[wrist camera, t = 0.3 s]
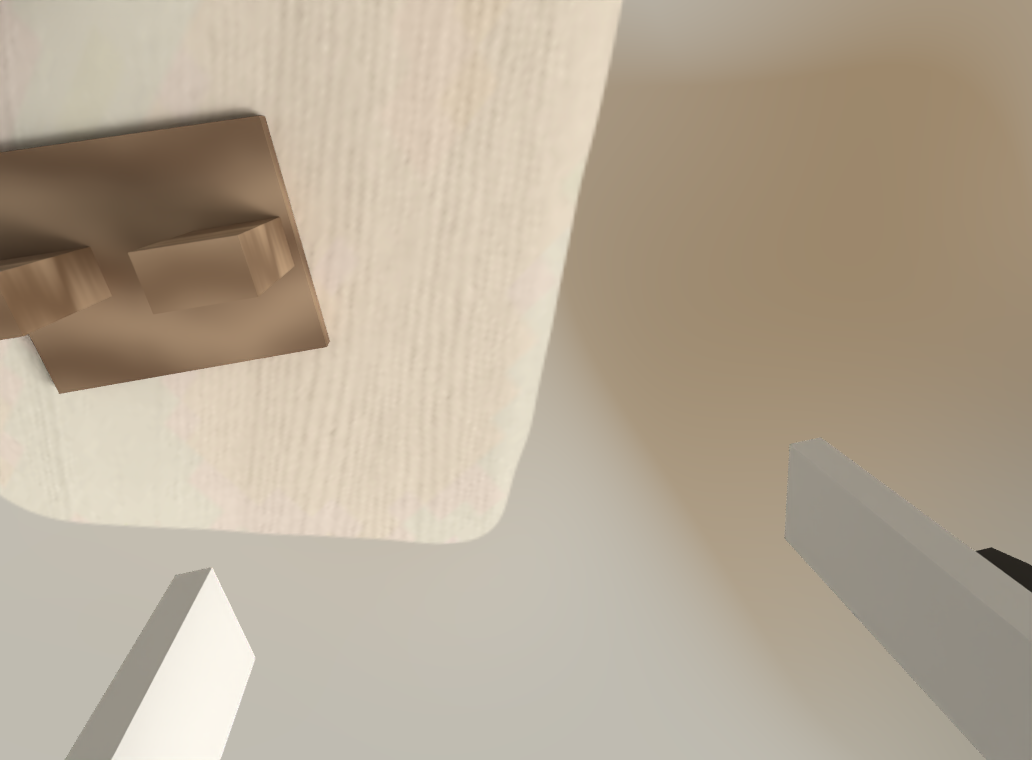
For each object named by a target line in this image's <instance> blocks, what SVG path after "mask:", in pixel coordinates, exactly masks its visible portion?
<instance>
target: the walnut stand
mask: <svg viewBox="0 0 1032 760" xmlns="http://www.w3.org/2000/svg"><path fill="white" fill-rule="evenodd" d="M27 334H29V336H30V338H31V339H32V341H33V343H34V345H35V347H36V349H37V351H38V353H39V355H40V357H41V359H42V361H43V363H44V365H45V367H46V369H47V371H48V372H49V374H50V376H51V378H52V380H53V382H54V384H55V386H56V388H57V390H58V392H59V394H61V393H67V392H72V391H78V390H84V389H89V388H95V387H101V386H107V385H112V384H118V383H124V382H129V381H135V380H141V379H146V378H152V377H158V376H164V375H169V374H175V373H181V372H186V371H192V370H198V369H203V368H209V367H215V366H221V365H226V364H232V363H238V362H243V361H249V360H255V359H261V358H266V357H272V356H278V355H283V354H289V353H295V352H300V351H306V350H312V349H318V348H323V347H327V345H328V344H329V342H330V340H329V337H328V334H327V330H326V327H325V323H324V320H323V316H322V313H321V309H320V306H319V302H318V299H317V295H316V292H315V288H314V285H313V281H312V278H311V275H310V271H309V268H308V264H307V261H306V257H305V254H304V250H303V247H302V243H301V240H300V236H299V233H298V229H297V226H296V223H295V219H294V216H293V212H292V209H291V205H290V202H289V198H288V195H287V191H286V188H285V184H284V181H283V177H282V174H281V171H280V167H279V164H278V160H277V157H276V153H275V150H274V146H273V143H272V139H271V136H270V132H269V129H268V125H267V122H266V118H265V117H264V116H252V117H245V118H238V119H231V120H224V121H217V122H210V123H203V124H196V125H189V126H182V127H175V128H168V129H161V130H154V131H147V132H140V133H133V134H126V135H119V136H112V137H105V138H98V139H91V140H84V141H77V142H70V143H63V144H56V145H49V146H42V147H35V148H28V149H21V150H13V151H6V152H0V340H3V339H9V338H15V337H21V336H25V335H27Z"/></svg>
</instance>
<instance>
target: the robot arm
mask: <svg viewBox="0 0 1032 760" xmlns="http://www.w3.org/2000/svg"><path fill="white" fill-rule="evenodd" d="M785 539H786V541H787V542H788V543H789V544H790V545H791V546H792V547H793V548H794V549H795V550H796V551H797V552H798V554H799V555H800V556H801V557H802V558H803V559H804V560H805V561H806V563H808V565H809V566H810V567H811V568H812V569H813V570H814V571H815V572H816V573H817V575H818V576H819V577H820V578H821V579H822V580H823V581H824V582H825V583H826V584H827V585H828V586H829V588H830V589H831V590H832V591H833V592H834V593H835V594H836V595H837V596H838V598H839V599H840V600H841V601H842V602H843V603H844V604H845V605H846V606H847V607H848V608H849V610H850V611H851V612H852V613H853V614H854V615H855V616H856V617H857V618H858V620H859V621H860V622H862V624H863V625H864V626H865V627H866V628H867V629H868V631H870V633H871V634H872V635H873V636H874V637H875V638H876V639H877V640H878V641H879V643H880V644H881V645H882V646H883V647H884V648H885V649H886V650H887V651H888V652H889V654H890V655H891V656H892V657H893V658H894V659H895V660H896V661H897V662H898V663H899V665H900V666H901V667H902V668H903V669H904V670H905V671H906V672H907V673H908V674H909V675H910V677H911V678H912V679H913V680H914V681H915V682H916V683H917V684H918V685H919V686H920V688H921V689H923V691H924V692H925V693H926V694H927V695H928V696H929V697H930V698H931V699H932V701H933V702H934V703H935V704H936V705H937V706H938V707H939V708H940V709H941V711H942V712H943V713H944V714H945V715H946V716H947V717H948V718H949V719H950V720H951V722H952V723H953V724H954V725H955V726H956V727H957V728H958V729H959V730H960V731H961V733H962V734H963V735H964V736H965V737H966V738H967V739H968V740H969V741H970V742H971V743H972V745H973V746H974V747H975V748H976V749H977V750H978V751H979V752H980V753H981V754H982V755H983V757H984V758H985V759H986V760H1032V566H1031V565H1030V564H1028V563H1026V562H1023V561H1021V560H1019V559H1016V558H1014V557H1012V556H1010V555H1007V554H1005V553H1003V552H1001V551H998V550H996V549H994V548H987V549H983V550H979V551H974V550H973V549H972V548H970V547H969V546H968V545H966V544H965V543H964V542H962V541H961V540H959V539H958V538H957V537H955V536H954V535H952V534H951V533H950V532H949V531H947V530H946V529H944V528H943V527H942V526H940V525H939V524H938V523H936V522H935V521H934V520H932V519H931V518H930V517H928V516H927V515H925V514H924V513H923V512H921V511H920V510H919V509H917V508H916V507H915V506H913V505H912V504H911V503H909V502H908V501H906V500H905V499H904V498H902V497H901V496H900V495H898V494H897V493H896V492H894V491H893V490H891V489H890V488H889V487H887V486H886V485H885V484H883V483H882V482H881V481H879V480H878V479H877V478H875V477H874V476H872V475H871V474H870V473H868V472H867V471H865V470H864V469H863V468H862V467H860V466H859V465H858V464H856V463H855V462H853V461H852V460H851V459H849V458H848V457H847V456H845V455H844V454H843V453H841V452H840V451H838V450H837V449H836V448H834V447H833V446H832V445H830V444H829V443H827V442H826V441H825V440H824V439H822V438H816V439H812V440H807V441H802V442H798V443H793V444H790V449H789V468H788V486H787V504H786V522H785ZM254 661H255V656H254V654H253V652H252V650H251V648H250V645H249V643H248V641H247V639H246V637H245V635H244V633H243V631H242V629H241V627H240V625H239V623H238V620H237V618H236V616H235V614H234V612H233V610H232V608H231V606H230V604H229V602H228V600H227V597H226V595H225V593H224V591H223V589H222V587H221V585H220V583H219V581H218V578H217V576H216V574H215V572H214V570H213V568H212V567H211V568H207V569H202V570H197V571H192V572H188V573H183V574H178V575H175V577H174V579H173V580H172V582H171V584H170V585H169V587H168V589H167V591H166V592H165V594H164V596H163V597H162V599H161V600H160V602H159V604H158V605H157V607H156V609H155V610H154V612H153V614H152V615H151V617H150V619H149V620H148V622H147V624H146V626H145V627H144V629H143V630H142V632H141V634H140V635H139V637H138V639H137V640H136V642H135V644H134V645H133V647H132V649H131V650H130V652H129V654H128V655H127V657H126V659H125V660H124V662H123V664H122V665H121V667H120V669H119V670H118V672H117V674H116V675H115V677H114V679H113V680H112V682H111V684H110V685H109V687H108V689H107V690H106V692H105V694H104V695H103V697H102V699H101V701H100V702H99V704H98V705H97V707H96V709H95V710H94V712H93V714H92V715H91V717H90V719H89V720H88V722H87V724H86V725H85V727H84V729H83V730H82V732H81V734H80V735H79V737H78V739H77V740H76V742H75V744H74V745H73V747H72V749H71V750H70V752H69V754H68V755H67V757H66V759H65V760H220V759H221V756H222V753H223V750H224V748H225V745H226V742H227V739H228V736H229V733H230V730H231V727H232V724H233V721H234V718H235V716H236V713H237V709H238V707H239V704H240V701H241V698H242V695H243V692H244V690H245V687H246V683H247V681H248V678H249V675H250V672H251V669H252V666H253V664H254Z"/></svg>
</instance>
